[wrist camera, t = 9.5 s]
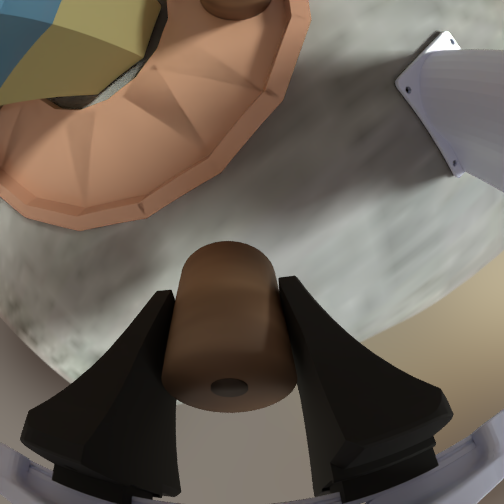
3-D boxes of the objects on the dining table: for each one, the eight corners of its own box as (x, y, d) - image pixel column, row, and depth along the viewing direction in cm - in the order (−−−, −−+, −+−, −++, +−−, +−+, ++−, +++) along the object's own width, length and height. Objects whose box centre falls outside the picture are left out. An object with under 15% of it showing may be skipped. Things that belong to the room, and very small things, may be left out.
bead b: (293, 266, 11) (325, 370, 7) (244, 325, 13) (251, 420, 9) (207, 224, 10) (191, 330, 6) (167, 295, 12) (146, 395, 7)
